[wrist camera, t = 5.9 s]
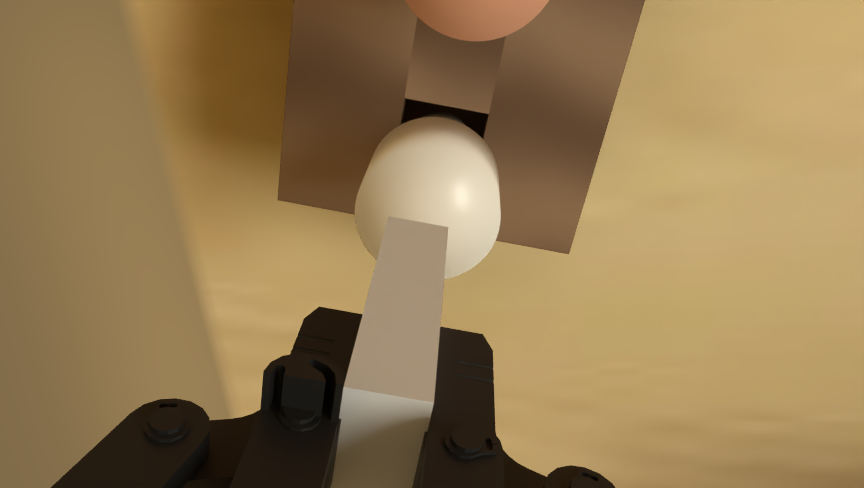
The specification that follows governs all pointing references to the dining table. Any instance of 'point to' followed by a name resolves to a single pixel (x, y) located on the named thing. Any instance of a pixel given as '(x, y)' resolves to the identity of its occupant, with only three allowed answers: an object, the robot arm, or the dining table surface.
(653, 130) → the dining table surface
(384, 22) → the knob console
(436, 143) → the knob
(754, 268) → the dining table surface
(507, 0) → the knob middle
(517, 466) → the robot arm
